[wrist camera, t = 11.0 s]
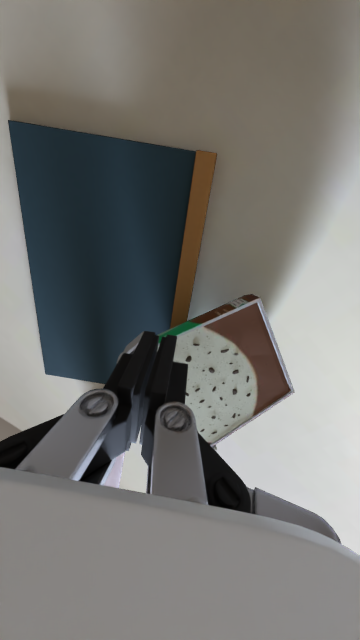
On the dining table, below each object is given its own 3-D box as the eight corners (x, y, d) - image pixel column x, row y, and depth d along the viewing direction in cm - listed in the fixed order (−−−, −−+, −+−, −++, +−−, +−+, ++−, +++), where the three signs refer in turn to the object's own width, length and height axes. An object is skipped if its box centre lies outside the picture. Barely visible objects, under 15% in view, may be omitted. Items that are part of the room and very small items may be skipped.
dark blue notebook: (12, 122, 15) (2, 117, 14) (216, 156, 15) (217, 153, 14) (47, 372, 24) (43, 376, 24) (173, 392, 24) (172, 398, 24)
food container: (217, 264, 19) (117, 321, 19) (252, 277, 13) (111, 357, 13) (260, 363, 24) (181, 408, 24) (299, 403, 18) (196, 461, 18)
